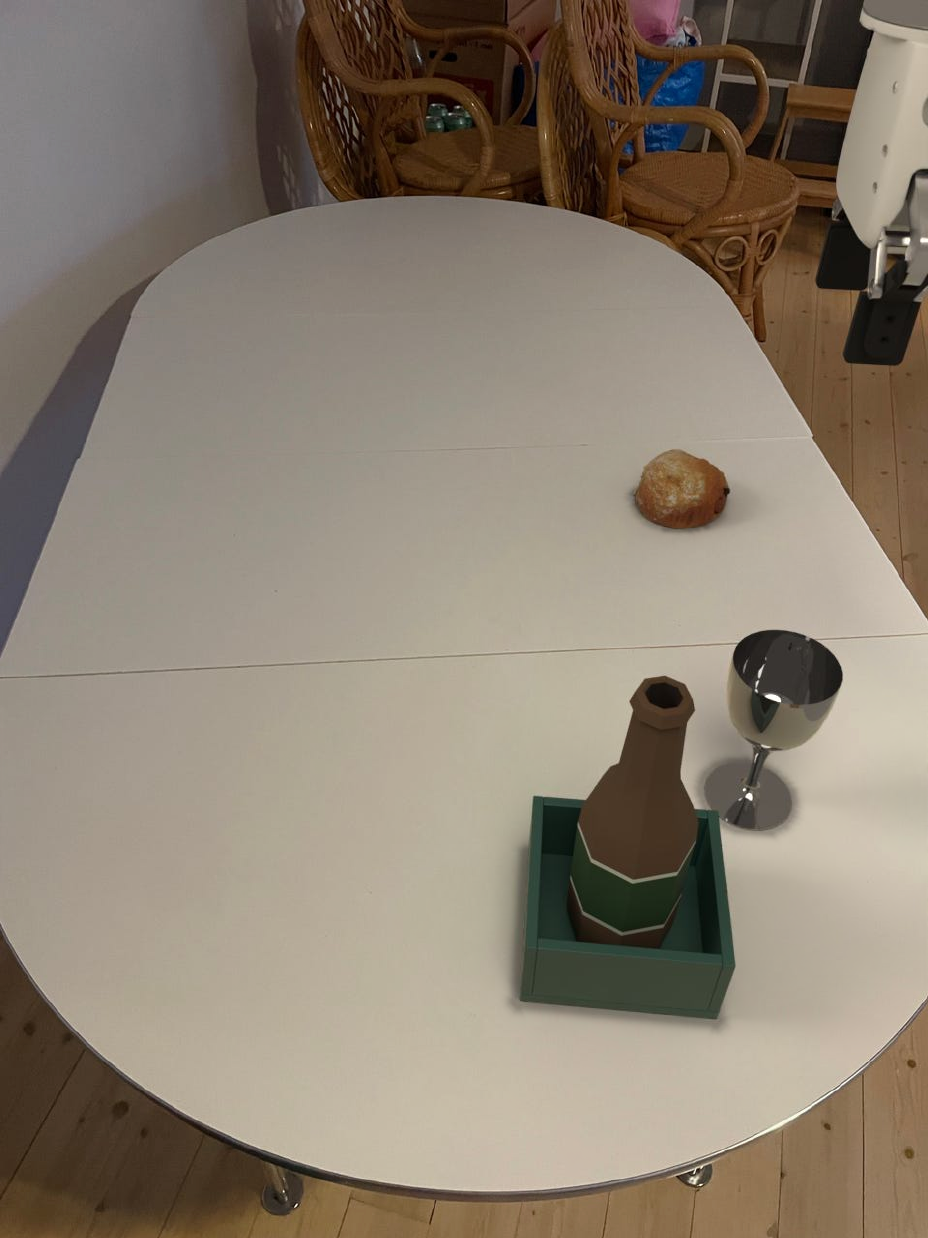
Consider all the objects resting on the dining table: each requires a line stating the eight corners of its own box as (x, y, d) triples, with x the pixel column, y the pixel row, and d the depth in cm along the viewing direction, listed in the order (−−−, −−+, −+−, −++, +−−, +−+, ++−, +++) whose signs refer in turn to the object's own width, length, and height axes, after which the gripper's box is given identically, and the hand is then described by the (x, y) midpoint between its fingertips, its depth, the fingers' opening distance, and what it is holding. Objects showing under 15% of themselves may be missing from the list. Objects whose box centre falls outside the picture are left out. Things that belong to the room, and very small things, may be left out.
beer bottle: (673, 885, 79) (732, 656, 63) (670, 979, 73) (734, 753, 57) (570, 869, 80) (602, 639, 64) (559, 961, 74) (591, 733, 58)
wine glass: (718, 840, 83) (755, 710, 73) (686, 764, 89) (717, 634, 79) (812, 828, 84) (862, 699, 74) (775, 753, 90) (816, 624, 80)
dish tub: (702, 866, 81) (718, 810, 76) (716, 1019, 72) (735, 966, 67) (528, 851, 82) (533, 795, 77) (519, 1001, 73) (524, 947, 68)
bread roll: (644, 502, 124) (622, 448, 119) (730, 476, 120) (711, 420, 115) (647, 554, 116) (624, 498, 112) (739, 528, 113) (718, 469, 108)
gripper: (1089, 41, 44) (956, 400, 55) (977, -39, 57) (888, 266, 68) (908, 34, 44) (813, 392, 56) (837, -43, 57) (772, 260, 69)
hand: (854, 322), depth 62 cm, fingers open, 9 cm apart
